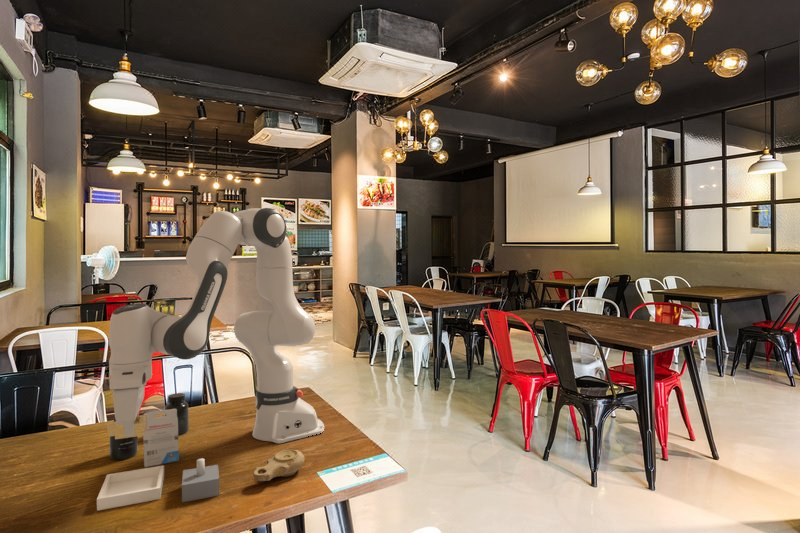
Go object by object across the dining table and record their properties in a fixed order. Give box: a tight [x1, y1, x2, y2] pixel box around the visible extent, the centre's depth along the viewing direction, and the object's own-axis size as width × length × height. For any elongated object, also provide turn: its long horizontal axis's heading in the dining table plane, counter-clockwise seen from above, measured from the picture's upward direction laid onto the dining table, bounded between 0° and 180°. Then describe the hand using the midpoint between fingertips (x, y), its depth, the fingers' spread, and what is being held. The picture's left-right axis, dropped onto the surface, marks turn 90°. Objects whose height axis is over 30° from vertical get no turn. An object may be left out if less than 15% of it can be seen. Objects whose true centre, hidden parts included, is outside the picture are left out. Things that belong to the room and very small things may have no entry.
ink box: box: [142, 409, 180, 468], centre depth 128 cm, size 9×5×15 cm, turn 117°
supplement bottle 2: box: [164, 392, 190, 436], centre depth 148 cm, size 7×7×12 cm
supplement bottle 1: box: [109, 414, 139, 461], centre depth 131 cm, size 7×7×12 cm
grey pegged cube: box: [181, 457, 220, 503], centre depth 112 cm, size 8×8×8 cm
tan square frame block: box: [106, 414, 147, 439], centre depth 111 cm, size 8×6×3 cm
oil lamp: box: [252, 449, 305, 482], centre depth 119 cm, size 11×14×5 cm
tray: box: [96, 464, 165, 511], centre depth 111 cm, size 13×13×3 cm
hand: (131, 429), depth 111 cm, fingers closed on tan square frame block, 6 cm apart
